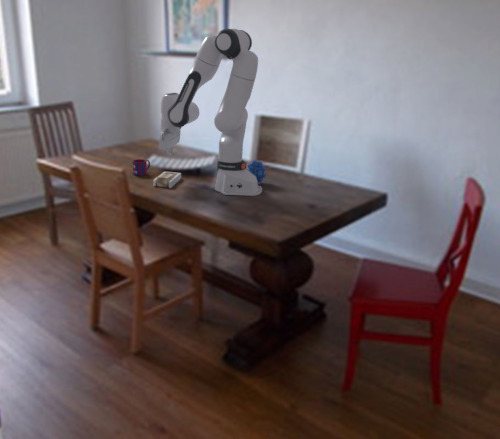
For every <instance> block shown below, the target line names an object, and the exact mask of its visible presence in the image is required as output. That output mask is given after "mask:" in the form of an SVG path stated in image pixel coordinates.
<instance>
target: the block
mask: <svg viewBox="0 0 500 439" xmlns="http://www.w3.org/2000/svg"><path fill="white" fill-rule="evenodd" d="M162 173H163V172H162ZM162 173H161V175H160V174H159V175H160V176H159V175H158V176H156V178H157V185H156V187H162V188H163V187H164V188H169V181H170V180H171V179H172V178H173V174H164V173H163V174H162Z"/></svg>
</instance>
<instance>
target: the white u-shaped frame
mask: <svg viewBox="0 0 500 439" xmlns="http://www.w3.org/2000/svg"><path fill="white" fill-rule="evenodd" d="M163 173H164V174H173V178H172V179H171V180H170V181H169V186H168V188H169V189H171V188H173V186H175V185H176V184H177V183H178V182H180V180H181V179H182V173H181V172H173V171H163V172H162V173H161V174H163ZM161 174H159V175H158V176H160V175H161ZM152 186H153V187H157V177H155V178H154V179H153V181H152Z"/></svg>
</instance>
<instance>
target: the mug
mask: <svg viewBox="0 0 500 439" xmlns="http://www.w3.org/2000/svg"><path fill="white" fill-rule="evenodd" d="M147 163H148V164H147ZM150 167H151V162H150V160H148V159H141V158H139V159H134V160H132V174H133V175H134V176H139V177H143V176H146V175H147V171H148V170H149V169H150Z"/></svg>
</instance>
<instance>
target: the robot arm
mask: <svg viewBox="0 0 500 439" xmlns="http://www.w3.org/2000/svg"><path fill="white" fill-rule="evenodd" d="M252 45H253V39H252V37H251V35H250V34H249V33H248V32H247V31H245V30H242V29H237V28H224V29H221V30H220V31H219V32H217V33H216V35H208V36H206V37H205V38H204V39H203V40H202V43H201V45H200V47H199V49H198V51H197V52H196V55H195V57H194V60H193V63H192V65H191V68H190V71H189V72H188V75H187V77H186V79H185V81H184V83H183V86H182V88H181V89H180V92H179V93H178V92H170V93H168V92H167V93H165V94H163V95H162V97H161V102H160V114H161V118H160V131H161V132H162V133H161V134H160V136H159V143H158V145H159V147H158V148H159V150H160V151H166V156H167V157H171V156H172V155H173V150H174V146H176V145H177V144H179V143H180V140H181V129H182V127H184V126H186V125H188V124H190V123H193V122H195V121H197V119H198V118H199V116H200V108H199V106H198V105H197V104H196V103H194V102H193V101H194V98H195V96H196V94H197V92H198V90H199V89H200V88H201V87H202V86H204V85H205V84H206V83H208V82H209V81H211V80H212V79H213V78H214V77H215V75H216V73H217V72H218V70H219V67H220V64H221V63H222V59H223V58H224V57H225V58H227V59H229V60H232V67H231V71H230V74H229V79H228V82H227V87H226V89H225V93H224V95H223V98H222V99H221V102H220V104H219V107H218V111H217V113H216V114H215V117H214V119H213V120H214V121H213V123H214V126H215V128H216V129H217V130H218V131H219V132H221V135H220V139H219V141H218V158H217V161H216V162H217V163H216V170H217V176H216V181H215V185H214V190H215V191H216V192H219V193H221V194H222V195H224V196H225V195H227V196H229V195H230V196H250V197H256V196H258V195H260V194H261V193H262V192H263V188H262V186H261V185H259V184H258V183H259V182H258V183H257V178H256V176H255V175H253V174H252V173H251V172H250V171H249V170H250V169H248V168H247V161H245V160H243V149H244V139H245V135H246V128H247V122H248V118H249V114H248V110H247V109H246V107H247V104H248V102H249V100H250V99H251V95H252V92H253V89H254V84H255V82H256V78H257V73H258V66H259V57H258V55H257V54H256V53H255V52H254V51H251V48H252Z"/></svg>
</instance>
